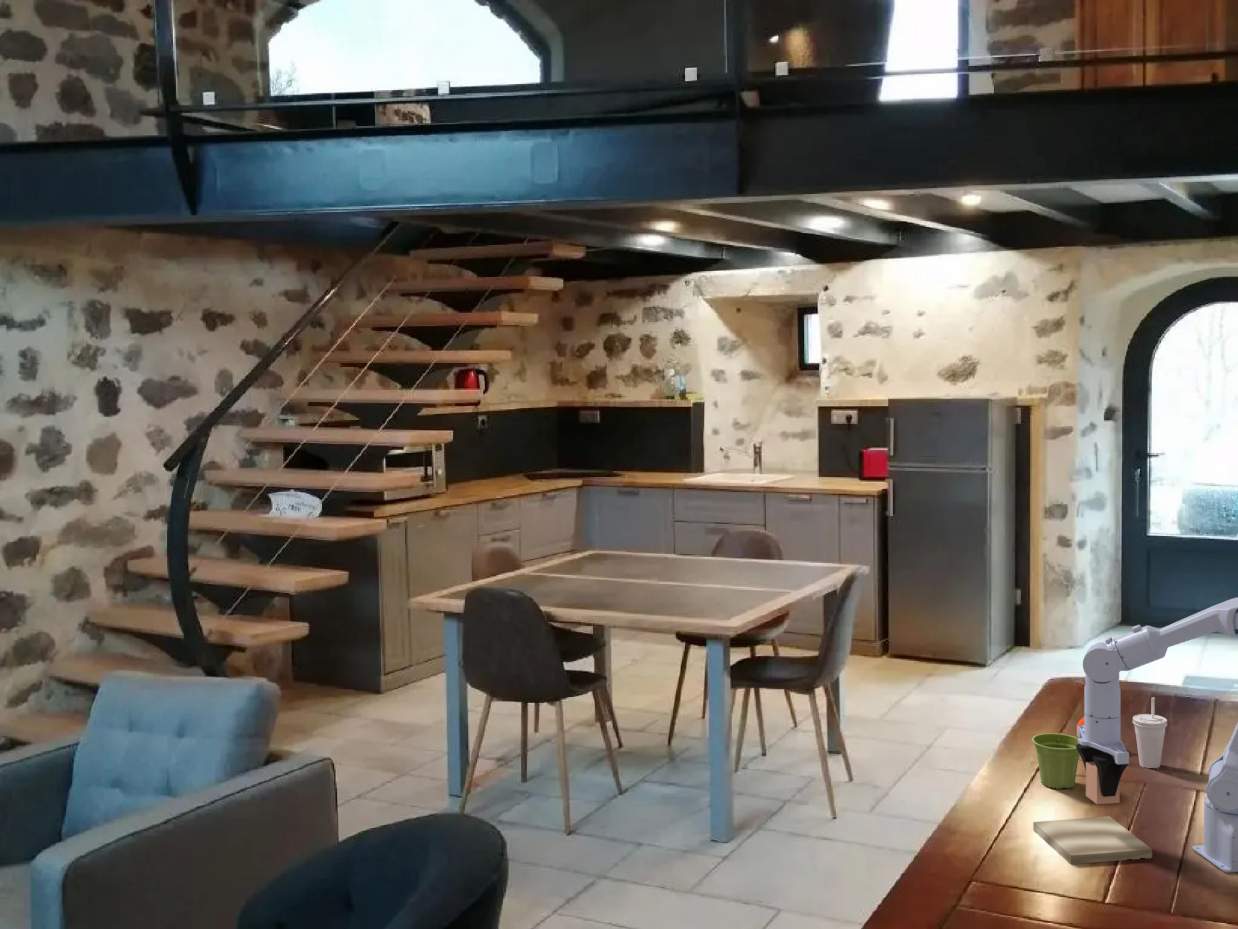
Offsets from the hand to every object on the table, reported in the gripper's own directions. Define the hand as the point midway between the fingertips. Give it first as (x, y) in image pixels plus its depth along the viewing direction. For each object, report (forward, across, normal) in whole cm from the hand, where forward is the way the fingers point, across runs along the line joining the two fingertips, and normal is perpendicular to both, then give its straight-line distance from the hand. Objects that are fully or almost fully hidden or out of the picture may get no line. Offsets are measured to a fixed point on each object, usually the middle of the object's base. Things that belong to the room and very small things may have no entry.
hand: (1102, 790), depth 202 cm
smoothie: (+9, -32, +26) cm, 42 cm away
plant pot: (+9, -25, +4) cm, 27 cm away
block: (+2, 0, 0) cm, 2 cm away
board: (+8, +2, -3) cm, 9 cm away
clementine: (+9, -43, +20) cm, 49 cm away
